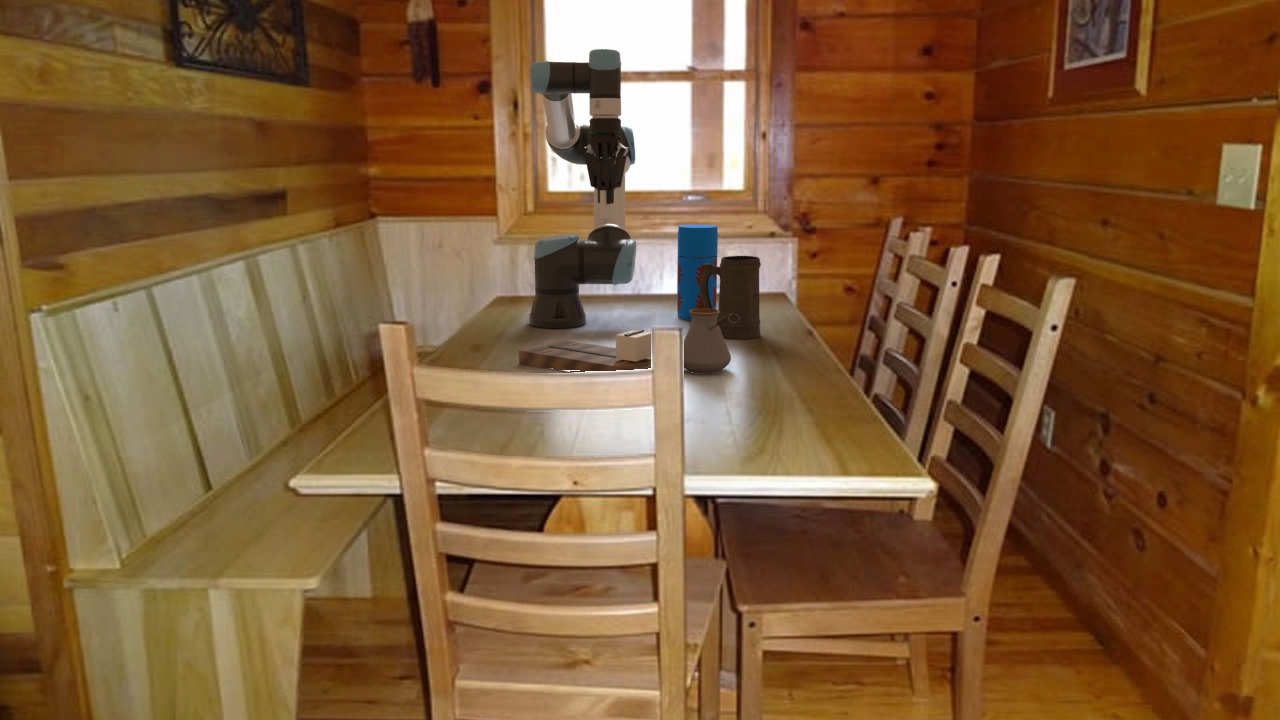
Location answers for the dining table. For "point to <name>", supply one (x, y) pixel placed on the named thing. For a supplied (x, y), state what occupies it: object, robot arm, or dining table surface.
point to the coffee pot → (706, 342)
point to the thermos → (695, 266)
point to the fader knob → (633, 345)
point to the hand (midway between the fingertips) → (605, 217)
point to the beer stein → (736, 295)
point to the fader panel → (577, 357)
